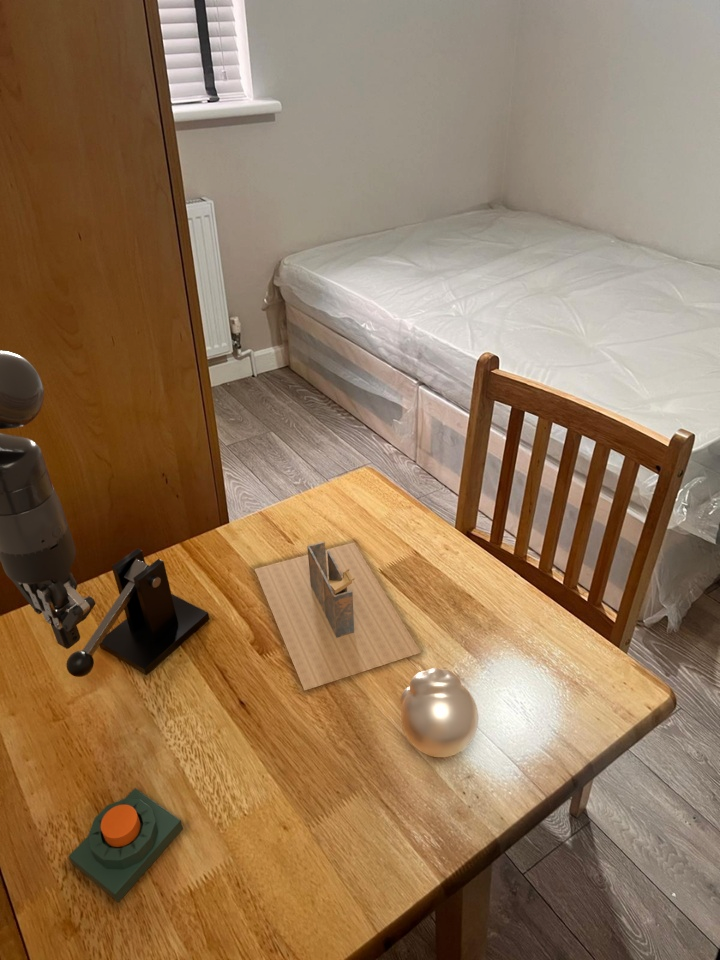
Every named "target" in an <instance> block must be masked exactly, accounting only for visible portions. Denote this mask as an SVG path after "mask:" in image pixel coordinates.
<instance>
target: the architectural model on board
mask: <svg viewBox="0 0 720 960" xmlns="http://www.w3.org/2000/svg"><path fill="white" fill-rule="evenodd" d="M306 549H307V554H305V555H302V556H298V557H294V558H290V559H287V560H286V559H285V560H283V561H279V562H275V563H272V564H268V565H265V566H260V567H258V568H254V571H255V572H254V573H255V574H256V576H257V579H258V582H259V584H260V586H261V588H262V591H263V593H264V597H265V599H266V601H267V603H268V606H269V608H270V611H271V613H272V615H273V618H274V620H275V623H276V625H277V628H278V630H279V633H280V635H281V637H282V640H283V642H284V645H285V647H286V650H287V652H288V654H289V657H290V659H291V661H292V664H293V665H294V666H293V667H294V669H295V672H296V674H297V676H298V679H299V681H300V683H301V686H302V688H303V691H308V690H311V689H313V688H317V687H320V686H323V685H326V684H329V683H332V682H336V681H338V680H341V679H345V678H347V677H350V676H355V675H357V674H360V673H363V672H366V671H369V670H372V669H375V668H378V667H381V666H385V665H387V664H391V663H394V662H397V661H399V660H403V659H406V658H409V657H412V656H415V655H418V654H421V653H422V652H421V650H420V648H419V646H418V645H417V643H416V642H415V640H414V638H413V637H412V636H411V634H410V632H409V629H407V627H406V625H405V624H404V622H403V620H402V619H401V617H400V616H399V614H398V612H397V610H396V609H395V607H394V606H393V604H392V602H391V601H390V599H389V598H388V596H387V594H386V592H385V591H384V588H383V587H382V585H381V584H380V582H379V581H378V579H377V578H376V576H375V574H374V572H373V571H372V569H371V568H370V566H369V565H368V562H367V561H366V559H365V557H364V556H363V555H362V553H361V552H360V551H361V550H359V548H358V546H357V545H356V543H355V542H354V541H353V542H350V543H346V544H343V545H338V546H335V547H330V548H328V549H326V541H325V540H324V541H321V542H316V543H313V544H312V543H311V544H308V545H307V546H306Z"/></svg>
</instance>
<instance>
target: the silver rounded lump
mask: <svg viewBox="0 0 720 960" xmlns="http://www.w3.org/2000/svg"><path fill="white" fill-rule="evenodd" d="M399 702H400V705H401V709H400V710H401V713H400V719H401V720H400V721H401V725H402V729H403V733H404V735H405V737H406V739H407V740H408V741H409V742H410V743H411V745H412V746H413V747H414V748H415V749H417V750H418V751H419V752H421V753H423V754H424V755H427V756H430V757H435V758H446V757H448V758H449V757H451V756H454V755H457V754H459V753H460V752H462V751H464V750H465V749H466V748H467V747H468V746H469V745H470V744H471V742H472V741H473V739H474V738H475V735H476V733H477V731H478V727H479V726H478V725H479V710H478V707H477V703H476V700H475V699H474V696H473V695H472V694H471V692H470V691H469V690H468V688H466V687H465V686H464V685H463V684H462V682H461V679H460V677H459V676H458V675H457V674H455V673H454V672H453V671H451V670H450V669H446V668H438V667H432V668H429V669H427V670H422V671H419V672H417V673H416V674H415V675H413V676H412V677H411V679H410V681H409V686H408V687H406V688H405V689H404V690H403V691H402V693H401V695H400V698H399Z"/></svg>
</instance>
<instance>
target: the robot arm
mask: <svg viewBox="0 0 720 960" xmlns="http://www.w3.org/2000/svg"><path fill="white" fill-rule="evenodd" d="M44 399H45V390H44V385H43V381H42V379H41V376H40V374H39V373H38V371H37V370H36V368H35V367H34V366H33V364H31V362H29V361H28V360H27V359H26V358H25V357H23V356H21V355H19V354H18V353H15V352H12V351H8V350H3V349H0V430H7V429H8V430H9V429H15V428H16V429H17V428H21V427H25V426H26V425H28V424H30V423H31V422H33V421H34V420H35V419H36V418H37V416H39V413H41V410H42V408H43V404H44ZM68 523H69V522H68V521H67V517H66V513H65V511H64V508H63V505H62V502H61V500H60V497H59V496H58V494H57V492H56V490H55V488H54V485H53V482H52V479H51V476H50V473H49V469H48V466H47V463H46V459H45V456H44V454H43V452H42V449H41V447H40V446H39V445H38V443H36V441H34V440H32V439H31V438H28V437H25V436H20V435H14V434H8V433H4V432H0V563H1V566H2V568H3V571H4V573H5V575H6V576H7V577H8V578H9V579H10V580H11V581H12V582H13V584H14V585H15V587H16V588H17V589H18V591H19V592H20V593H21V595H22V596H23V597H24V599H25V601H27V602H28V604H29V606H30V607H31V608H32V609H33V611H34V612H35V613H36V614H37V615H41V614H42V615H43V618H44V620H45V622H46V623H48V624H49V625H50V627H51V630H52V632H53V634H54V637H55V640H56V642H57V645H59V646H61V647H62V648H64V649H66V650H68V649H71V648H72V647H73V646H74V645H75V644H77V643H78V642H79V641H80V640H81V634H80V632H79V628H78V625H79V624H80V623H81V622H84V621H85V620H86V619H87V618H88V616H89V615H90V613H91V612H92V610H93V609H94V608H95V606H96V601H95V599H94V598H93V597H92V596H91V595H88V596H82V595H81V594H80V593H79V592H78V591H77V589H78V582H77V580H76V578H75V577H74V575H73V573H72V572H71V569H72V567H73V564H74V561H75V559H76V555H77V549H76V546H75V543H74V540H73V536H72V533H71V530H70V527H69V524H68Z"/></svg>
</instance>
